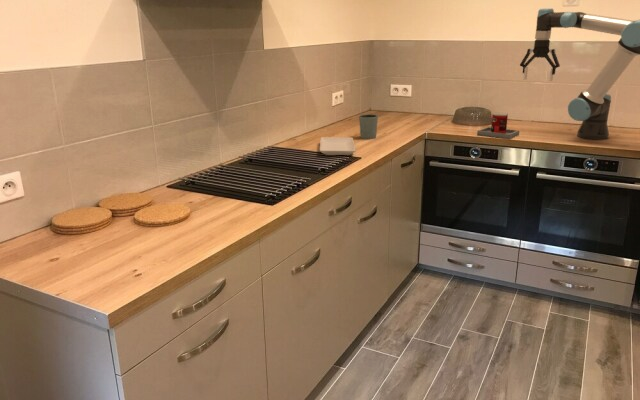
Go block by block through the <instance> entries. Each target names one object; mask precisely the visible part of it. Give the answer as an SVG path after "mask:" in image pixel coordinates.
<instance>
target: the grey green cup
mask: <svg viewBox="0 0 640 400" xmlns="http://www.w3.org/2000/svg"><path fill="white" fill-rule="evenodd" d="M358 118H359V119H358V121H359V133H360V134H359V135H360V139H363V140H374V139H376V138H377V130H378V119H379V116H378V114H373V113H365V114H361V115H358Z"/></svg>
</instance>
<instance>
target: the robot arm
mask: <svg viewBox="0 0 640 400" xmlns="http://www.w3.org/2000/svg"><path fill="white" fill-rule="evenodd" d="M554 28H556V29H557V28H564V29H568V28H575V29H581V30H582V29H583V30H587V31H593V32H594V31H595V32H600V33H605V34H609V35H614V36H615V35H616V36H620V39H619V40H618V41H617V44H618V47H617V48H616V50H615V51H614V52H613V54H612V55H611V56H610V58H609V59H608V61H607V62H606V63H605V65H604V66H603V67H602V69H601V70H600V72H599V73H598V74H597V75H596V77H595V78H594V80H593V81H592V82H591V84H590V85H589V86H588V88H586V89H582V91H580V94H579V95H577V97H575V98H573V99H571V101H570V102H569V103H568V106H567V112H568V113H567V114H568V115H569V117H570V118H571V119H573V120H574V121H578V122H581V124H580V126H579V128H578V130H577V132H576V137H579V138H580V139H581V138H582V139H585V140H587V139H588V140H607V139H609V136H610V132H609V126H608V119H609V113H610V108H611V103H612V96H611V94H608V93H609V91H610V90H611V88H612V87H613V86H614V84H615V83H616V82H617V81H618V80H619V78H620V77H621V76H622V74H623V73H624V72H625V70H626V69H627V67H628V66H629V65H630V64H631V63H632V61H633V60H634V58H635V57H637V56H640V19H637V20H630V19H624V18H617V17H612V16H611V17H610V16H604V15H598V14H593V13H592V14H591V13H585V12H582V11H576V12H575V11H560V12H559V11H558V12H555V11H554V8H540V9H538V11H537V17H536V27H535V35H534V39H535V40H534V44H533V45H534V46H533V49H532V48H528V49H527V51H526V54H525V55H524V56H523V58H522V60H521V62H520V64H519V66H520V67H522V74H523V80H524V81H526V80H528V79H527V78H528V70H529V67H528V66H529V64H531V63H532V61H534V59H535V58H536V59H537V58H543V59H545V60H546V61H547V63H549V65H550V67H551V68H550V74H549V82H552V81H553V80H554V79H553V78H554V75H556V69H557V68H559V67H560V66H561V65H560V63H559V60H558V57H557V54H556V48H552V49H550V43H551V35H552V29H554ZM532 53H533V55H532V56H531V57H530V58H529V56H530V55H531V54H532ZM549 53H550V54H551V57H552V59H553V60H552V59H551V57H550V55H549ZM528 58H529V59H528Z"/></svg>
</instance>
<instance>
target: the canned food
mask: <svg viewBox="0 0 640 400" xmlns="http://www.w3.org/2000/svg"><path fill="white" fill-rule="evenodd" d="M491 115H492V116H491V126H490V127H491V132H495V133H503V134H506V129H508V128H507V127H508V118H509V117H508V116H509V115H508V113H506V112H493V113H492V114H491Z"/></svg>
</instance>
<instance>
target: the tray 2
mask: <svg viewBox="0 0 640 400" xmlns="http://www.w3.org/2000/svg"><path fill="white" fill-rule="evenodd" d="M519 135H520V130H518V129H510V128H509V129H508V128H506V134H503V133H495V132H491V126H486V127H484V128H481V129H478V130H477V132H476V136H479V137H488V138H494V137H495V138H496V139H503V140H511V139H513V137H514V138H515V136H516V137H518V136H519ZM495 138H494V139H495Z"/></svg>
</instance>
